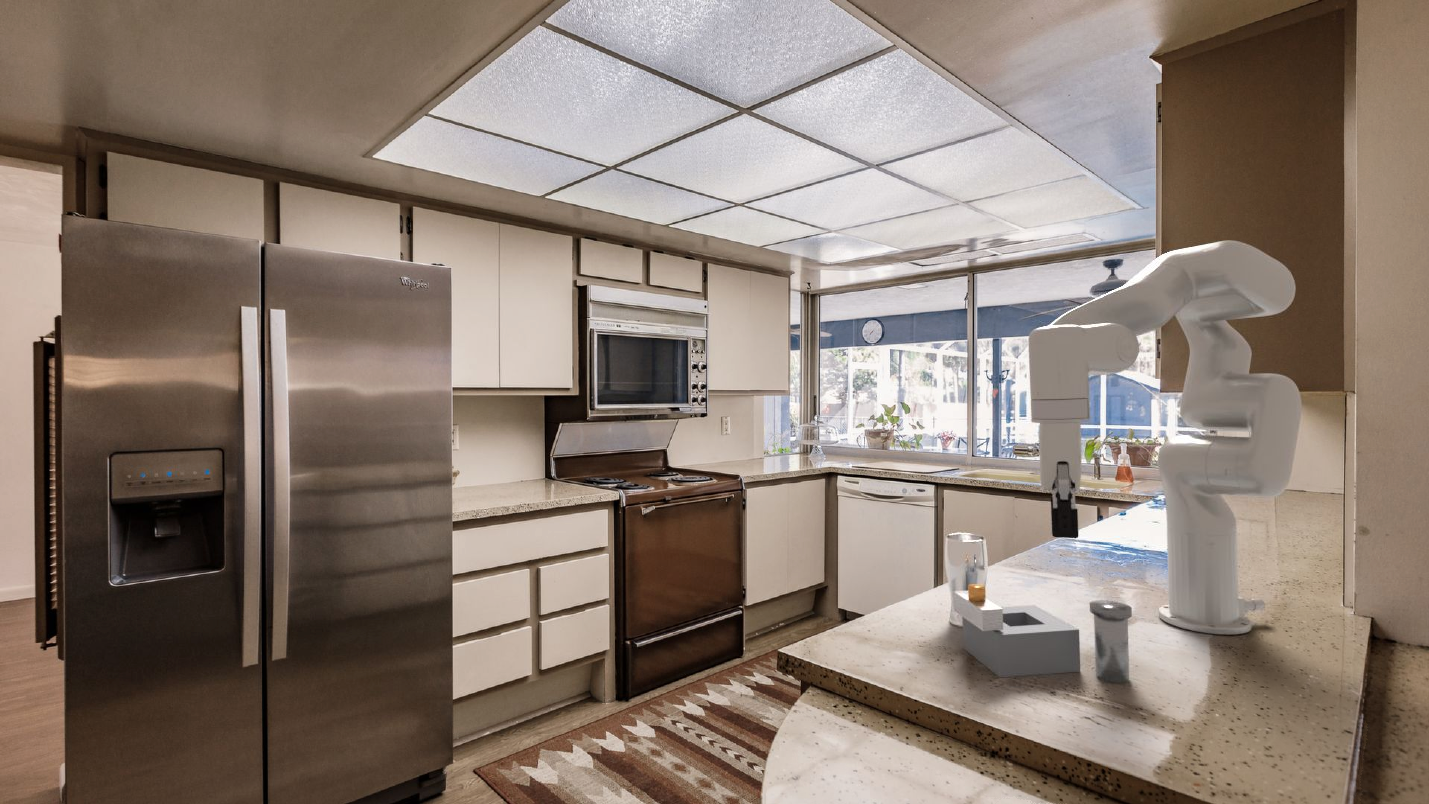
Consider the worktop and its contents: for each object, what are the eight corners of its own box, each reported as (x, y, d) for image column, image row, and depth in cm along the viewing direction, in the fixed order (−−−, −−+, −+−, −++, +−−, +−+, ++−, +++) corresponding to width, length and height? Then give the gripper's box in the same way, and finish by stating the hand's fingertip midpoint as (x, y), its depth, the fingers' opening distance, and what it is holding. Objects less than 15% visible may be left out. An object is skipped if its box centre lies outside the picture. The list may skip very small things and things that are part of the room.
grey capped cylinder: (1116, 668, 94) (1114, 599, 93) (1142, 684, 89) (1140, 610, 89) (1083, 671, 93) (1081, 601, 93) (1107, 686, 88) (1105, 612, 88)
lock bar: (972, 609, 102) (971, 577, 102) (1003, 629, 93) (1002, 594, 93) (954, 610, 102) (953, 578, 102) (983, 631, 93) (982, 596, 93)
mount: (1035, 642, 104) (1034, 605, 104) (1080, 671, 93) (1079, 629, 93) (963, 647, 103) (962, 609, 103) (999, 677, 92) (998, 635, 92)
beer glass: (993, 630, 110) (990, 541, 110) (950, 629, 111) (947, 541, 111) (985, 616, 117) (982, 532, 117) (944, 615, 118) (941, 532, 118)
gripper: (1032, 409, 104) (1036, 517, 104) (1029, 415, 88) (1034, 541, 88) (1086, 408, 100) (1090, 519, 100) (1093, 414, 85) (1098, 545, 85)
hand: (1064, 529), depth 94 cm, fingers open, 9 cm apart
